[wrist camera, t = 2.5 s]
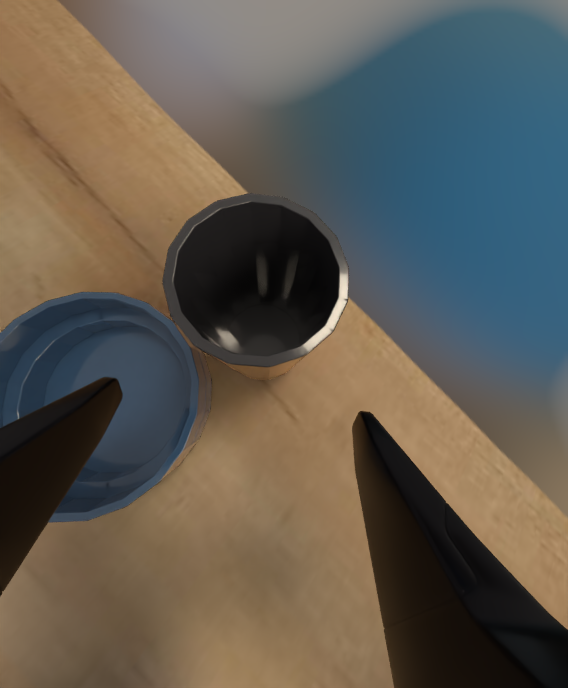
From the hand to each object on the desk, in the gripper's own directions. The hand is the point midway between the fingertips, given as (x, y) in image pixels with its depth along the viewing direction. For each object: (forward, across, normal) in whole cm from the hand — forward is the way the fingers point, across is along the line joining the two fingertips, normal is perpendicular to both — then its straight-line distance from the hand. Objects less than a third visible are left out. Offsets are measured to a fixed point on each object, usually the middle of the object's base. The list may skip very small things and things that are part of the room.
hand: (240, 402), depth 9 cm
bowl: (+7, +10, +9) cm, 16 cm away
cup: (+11, 0, +5) cm, 12 cm away
